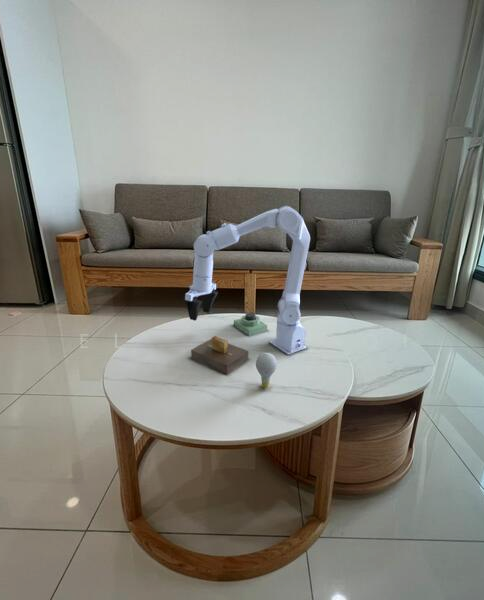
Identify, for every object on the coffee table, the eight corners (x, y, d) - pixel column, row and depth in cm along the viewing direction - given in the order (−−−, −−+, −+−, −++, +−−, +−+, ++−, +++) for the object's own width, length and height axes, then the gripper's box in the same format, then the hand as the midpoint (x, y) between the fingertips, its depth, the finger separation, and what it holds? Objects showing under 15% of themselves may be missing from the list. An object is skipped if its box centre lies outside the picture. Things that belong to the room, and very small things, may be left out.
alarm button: (257, 319, 116) (257, 315, 116) (249, 321, 114) (249, 317, 114) (251, 316, 119) (251, 312, 118) (243, 318, 117) (243, 314, 116)
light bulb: (250, 388, 84) (251, 354, 80) (263, 379, 88) (265, 346, 84) (266, 396, 81) (268, 362, 77) (279, 387, 85) (282, 354, 81)
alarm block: (267, 330, 116) (267, 320, 115) (248, 336, 112) (249, 325, 111) (251, 321, 124) (251, 311, 123) (233, 325, 120) (233, 315, 118)
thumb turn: (227, 351, 95) (227, 340, 94) (224, 353, 94) (224, 342, 93) (215, 346, 98) (214, 335, 97) (211, 348, 97) (211, 337, 95)
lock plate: (248, 359, 97) (248, 350, 96) (227, 374, 90) (227, 364, 88) (213, 345, 105) (213, 337, 104) (191, 358, 97) (190, 349, 96)
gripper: (204, 267, 105) (201, 305, 110) (177, 276, 93) (175, 319, 97) (223, 272, 103) (219, 311, 108) (198, 282, 90) (195, 326, 95)
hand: (199, 315), depth 102 cm, fingers open, 7 cm apart
